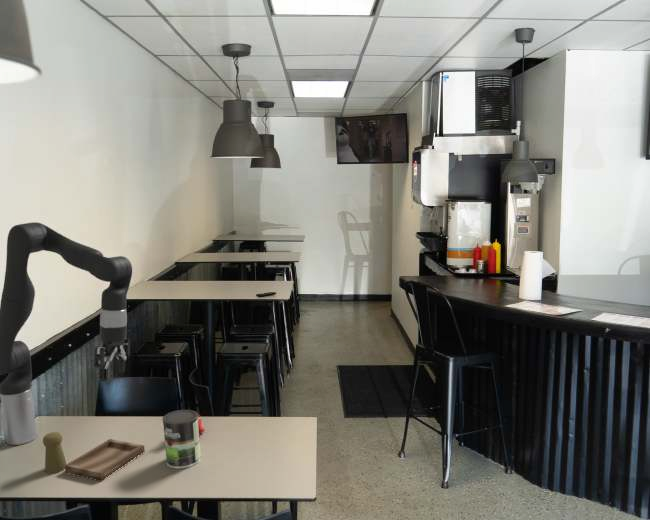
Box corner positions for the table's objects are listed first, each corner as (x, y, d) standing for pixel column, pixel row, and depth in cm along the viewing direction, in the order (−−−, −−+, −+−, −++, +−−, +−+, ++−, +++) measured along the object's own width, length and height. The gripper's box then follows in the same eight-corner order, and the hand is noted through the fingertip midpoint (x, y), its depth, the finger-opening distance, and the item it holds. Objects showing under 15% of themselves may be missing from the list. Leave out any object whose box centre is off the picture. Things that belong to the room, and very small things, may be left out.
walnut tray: (65, 473, 173) (64, 465, 173) (110, 446, 190) (109, 439, 189) (101, 481, 168) (101, 473, 167) (144, 452, 184) (144, 445, 184)
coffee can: (184, 472, 171) (180, 426, 169) (159, 464, 176) (154, 419, 174) (208, 456, 179) (205, 412, 177) (184, 449, 185) (180, 407, 183)
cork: (58, 474, 173) (54, 439, 171) (40, 473, 174) (36, 438, 172) (71, 464, 179) (67, 430, 177) (53, 463, 180) (49, 429, 178)
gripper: (117, 317, 183) (115, 368, 185) (87, 326, 170) (86, 381, 171) (138, 320, 181) (136, 371, 183) (109, 330, 168) (108, 385, 169)
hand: (112, 376), depth 177 cm, fingers open, 8 cm apart
